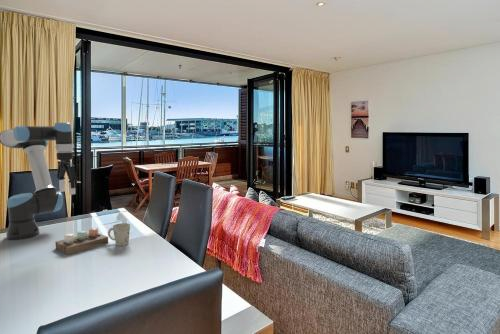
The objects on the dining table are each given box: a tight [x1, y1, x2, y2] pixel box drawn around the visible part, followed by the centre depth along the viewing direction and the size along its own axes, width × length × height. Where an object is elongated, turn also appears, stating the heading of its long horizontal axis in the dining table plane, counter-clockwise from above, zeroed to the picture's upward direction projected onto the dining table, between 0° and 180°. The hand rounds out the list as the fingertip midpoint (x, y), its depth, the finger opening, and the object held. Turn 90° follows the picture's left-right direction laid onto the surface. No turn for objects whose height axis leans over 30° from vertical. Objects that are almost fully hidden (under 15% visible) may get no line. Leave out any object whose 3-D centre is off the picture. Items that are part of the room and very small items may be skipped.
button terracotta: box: [88, 227, 99, 238], centre depth 169 cm, size 4×4×4 cm
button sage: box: [76, 230, 88, 241], centre depth 164 cm, size 4×4×4 cm
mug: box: [107, 222, 131, 247], centre depth 167 cm, size 8×13×10 cm, turn 78°
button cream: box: [63, 233, 76, 244], centre depth 159 cm, size 4×4×4 cm
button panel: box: [55, 232, 109, 256], centre depth 165 cm, size 14×20×4 cm
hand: (67, 192), depth 170 cm, fingers open, 11 cm apart
